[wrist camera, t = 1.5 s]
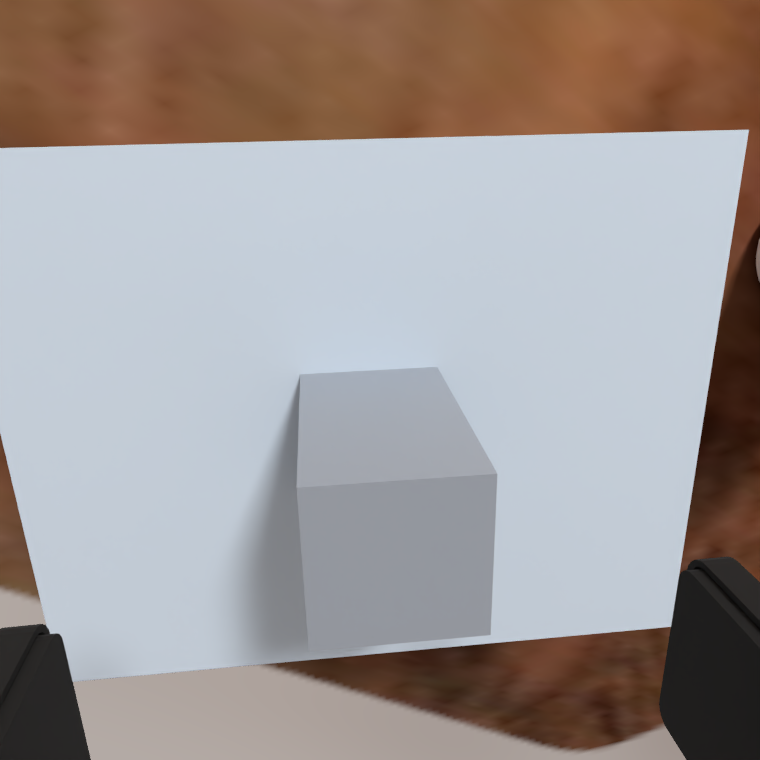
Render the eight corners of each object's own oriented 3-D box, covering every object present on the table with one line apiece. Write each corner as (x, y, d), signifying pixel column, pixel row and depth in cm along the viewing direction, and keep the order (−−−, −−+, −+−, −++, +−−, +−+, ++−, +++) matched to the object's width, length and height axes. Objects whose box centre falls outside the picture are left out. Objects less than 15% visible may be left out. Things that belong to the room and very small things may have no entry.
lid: (725, 130, 17) (979, 125, 11) (656, 606, 22) (799, 799, 16) (-46, 149, 16) (-300, 157, 9) (71, 658, 21) (-38, 898, 14)
